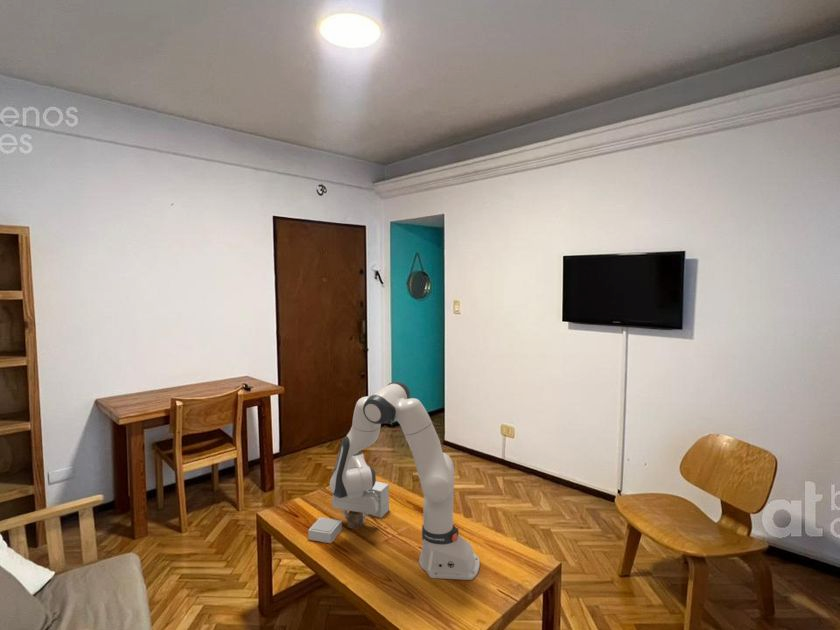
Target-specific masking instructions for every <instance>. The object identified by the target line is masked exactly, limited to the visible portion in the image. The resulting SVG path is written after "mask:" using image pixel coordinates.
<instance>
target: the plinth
mask: <svg viewBox="0 0 840 630" xmlns="http://www.w3.org/2000/svg"><path fill="white" fill-rule="evenodd" d="M342 522H343V520H339V519H335V518H334V519H333V518H326V517H319V518H318V519H317V520H316V521H315V522H314V523H313V524H312V525H311V527H309V529H308V530H307V532H308V533H307V534H308V540H309V541H310V540H311V541H314V542H320V543H327V544H332V542H334V541H335V539H336V538H337V537H338V536H339V534H340V533H341V531H342V528H343V527H342V525H343V523H342Z"/></svg>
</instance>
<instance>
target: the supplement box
mask: <svg viewBox="0 0 840 630" xmlns="http://www.w3.org/2000/svg"><path fill="white" fill-rule="evenodd" d="M389 486H390V485H389V483H386V482H380V481H377V480H376V482H375V485H374V487H373V488H372V489H370V490H368V491H373V492H375V493H376V494H377V495H378V511H377V512H376V513H375V514H368V515H369V516H373V517H377V518H380V519H382V518H383V517H384V516H385V515H386V514H387V513H388V512H389V511H390V487H389Z"/></svg>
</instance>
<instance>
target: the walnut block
mask: <svg viewBox="0 0 840 630" xmlns="http://www.w3.org/2000/svg"><path fill="white" fill-rule="evenodd" d="M347 513H348V514H347V519H346V520H347V528H352V529H356V530H357V529H358V530H359V528H361V526H362V525H363V524H364V522H361V517H362V516H364V515H363V513H361V512H354V511H347Z"/></svg>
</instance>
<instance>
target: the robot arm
mask: <svg viewBox="0 0 840 630" xmlns="http://www.w3.org/2000/svg"><path fill="white" fill-rule="evenodd" d="M394 421H396V422H397V423H398V424H399V426H400V427H401V430H402V432H403V435H404V437H405V440H406V442H407V445H408V447H409V449H410V451H411V453H412V457H413V462H414V465H415V468H416V472H417V476H418V478H419V479H418V480H419V482H420V487H421V490H422V491H421V492H422V494H423V505H422V506H423V510H422V512H423V515H422V516H423V519H422V520H423V524H422V525H421V526H422V527H421V540H422V547H421V551H420V556H419V559H418V564H419V566H420V568H421V569H423V570H424V571H425V572H426V573H427V575H428V576H429V578H430V579H441V580H442V579H446V580H463V581H465V580H466V581H468V580H469V581H472V580H473V579H475V578H476V577H477V575H478V573H479V571H480V566H481V565H480V564H481V563H480V557H479V556H478V555H477V554H476V553H474V550H473V547H472V544H471V543H470V542H469V541H467V540H465V539H464V538H463V537H462V536H461V535H459V529H460V528H459V525H457V527H456V526H455V524H454V491H455V490H454V489H455V488H454V487H455V466H454V462H453V460H452V458H451V457H450V455H449V454H447V453H445V452H443V448H442V445H441V441H440V438H439V435H438V433H437V431H436V428H435V426H434V424H433V422H432V419H431V417H430V415H429V413H428V412H427V410H426V408H425V406H424V405H423V404H422V402H421V401H420V399H418V398H415V397H414V398H413V397H412V398H411V392H410V389H409V387H408V386H407V385H406V384H405V383H404V382H401V381H392V382H390V383H388V384H387V385H385V386H383V387H382V388H379V389H378V390H376V391H375V392H374V393H373V394H372V395H369V396H368V395H367V396H362V397H361V398H359V399H358V400H357V401H356V402H355V406H354V410H353V416H352V424H351V427H350V430H349V431H348V433H347V434H346V436H344V437H343V438H342V440H341V443H340V446H339V448H338V449H339V450H338V451H337V452H338V453H337V458H336V460H335V461H336V462H335V465H334V467H333V468H334V469H333V470H332V471H333V472H332V474H331V475H330V478H329V489H330V493H331V494H332V497H331V498H332V499H331V506H332V508H333V509H335V510H342V514H343V515H344V520H347V514H348V512H349V511H354V512H361V513H363V516H362V517H361V522H363V523H365V522H366V519H367V518H366V517H367V515H369V514H375V513H376V512H377V511H378V495H377V494H376V493H375V492H373V491H368V490H370V489H372V488H373V487H374V485H375V482H376V481H377V479H376V478H377V477H376V471H375V469H374V468H373V467H371V466H370V465H368V464H367V462H366V461H365V455H364V453H363V452H362V451H363V450H364V449H366V448H369V447H371V446H372V445H374V443H376V442H377V440H378V438H379V436H380V434H381V428H382V427H381V426H382V424H389V425H390V424H392V423H394Z"/></svg>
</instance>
